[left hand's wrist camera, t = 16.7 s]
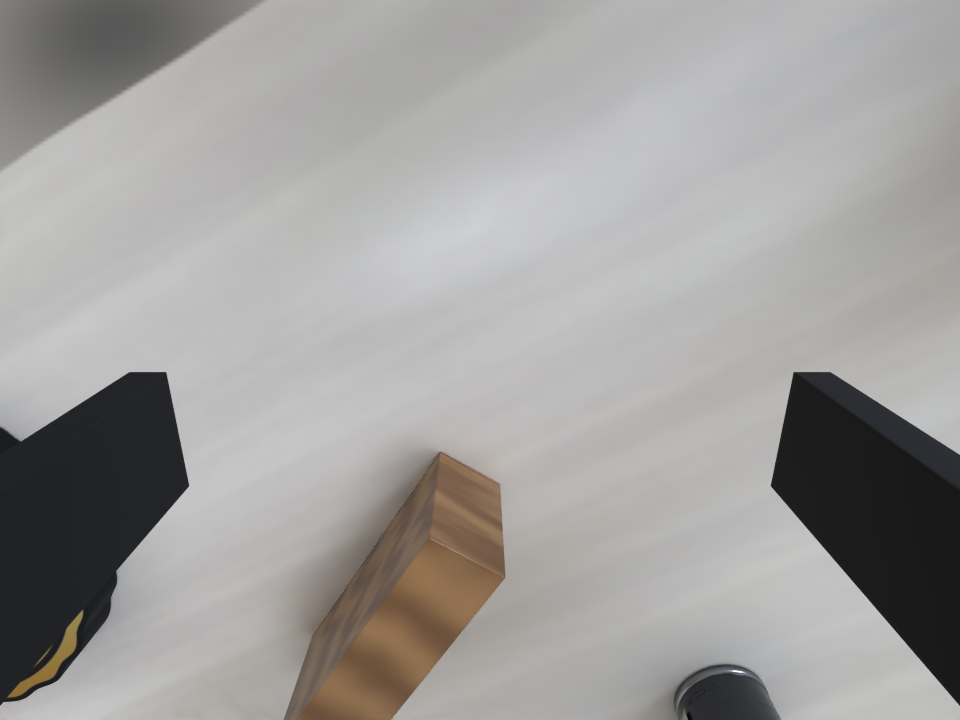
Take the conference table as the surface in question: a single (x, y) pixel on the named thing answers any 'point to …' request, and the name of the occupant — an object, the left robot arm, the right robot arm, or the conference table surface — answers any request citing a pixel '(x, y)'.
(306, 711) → the box
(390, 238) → the conference table surface
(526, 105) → the conference table surface
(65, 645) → the sign
